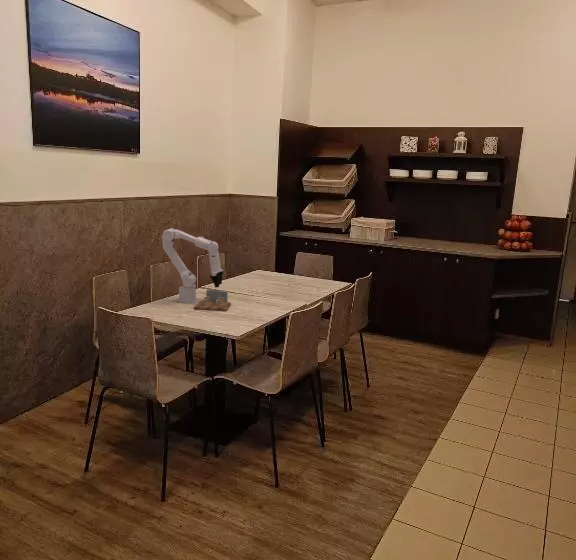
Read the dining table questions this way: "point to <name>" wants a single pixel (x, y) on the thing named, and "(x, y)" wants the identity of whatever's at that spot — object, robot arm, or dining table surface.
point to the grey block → (217, 295)
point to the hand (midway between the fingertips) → (218, 285)
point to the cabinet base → (212, 305)
